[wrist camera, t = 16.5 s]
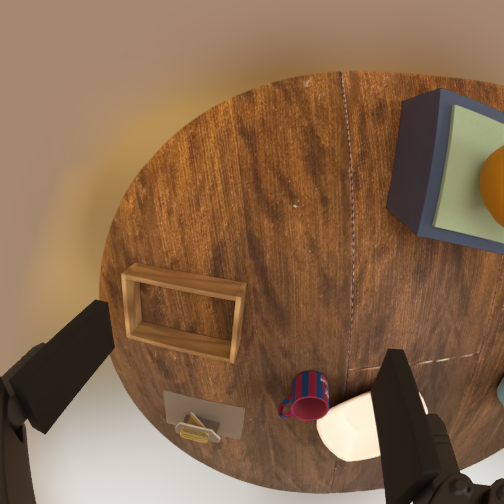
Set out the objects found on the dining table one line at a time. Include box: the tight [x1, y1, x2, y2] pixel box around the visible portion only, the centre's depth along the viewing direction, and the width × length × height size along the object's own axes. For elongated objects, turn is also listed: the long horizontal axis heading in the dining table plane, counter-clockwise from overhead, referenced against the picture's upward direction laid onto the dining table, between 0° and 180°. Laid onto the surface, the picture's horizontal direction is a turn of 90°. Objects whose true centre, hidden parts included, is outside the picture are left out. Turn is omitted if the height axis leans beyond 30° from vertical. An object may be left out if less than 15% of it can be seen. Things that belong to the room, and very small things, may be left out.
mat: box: [432, 105, 504, 243], centre depth 26 cm, size 13×13×1 cm
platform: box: [163, 390, 245, 443], centre depth 61 cm, size 12×18×7 cm, turn 85°
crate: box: [386, 88, 504, 255], centre depth 33 cm, size 16×16×14 cm
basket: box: [121, 262, 247, 363], centre depth 52 cm, size 13×20×5 cm, turn 84°
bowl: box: [317, 391, 428, 461], centre depth 54 cm, size 22×22×5 cm
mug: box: [278, 371, 329, 421], centre depth 53 cm, size 7×10×7 cm
